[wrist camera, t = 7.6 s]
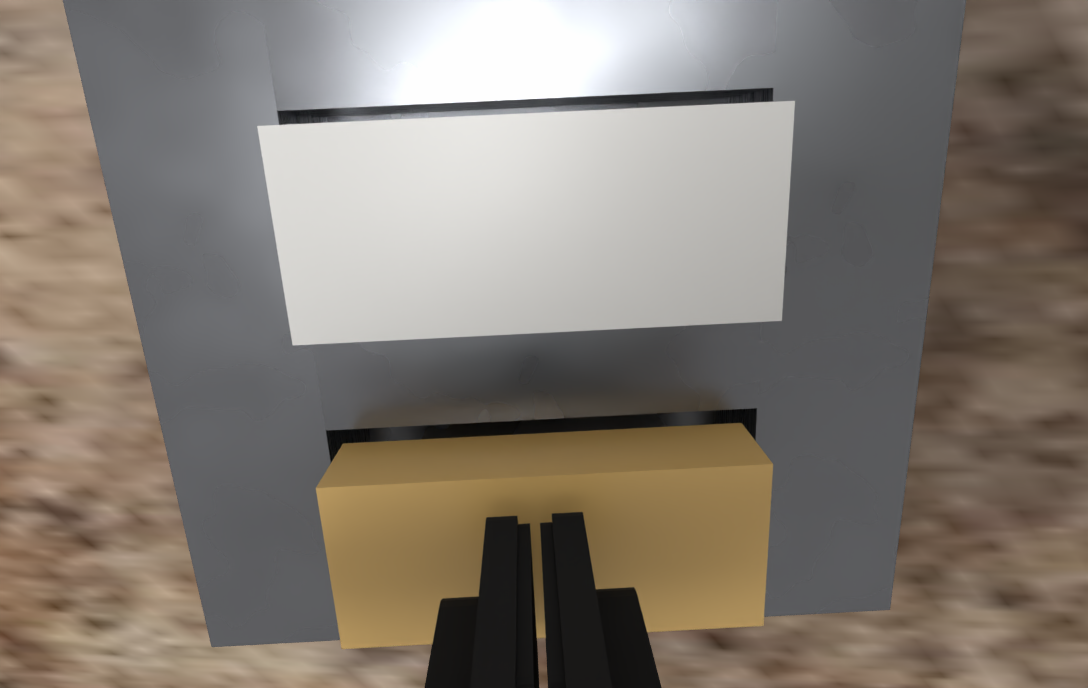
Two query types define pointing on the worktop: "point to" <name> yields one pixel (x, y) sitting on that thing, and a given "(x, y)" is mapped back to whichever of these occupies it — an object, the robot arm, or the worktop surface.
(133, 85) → the control panel
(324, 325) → the white button
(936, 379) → the worktop surface
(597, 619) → the robot arm
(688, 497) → the amber button
